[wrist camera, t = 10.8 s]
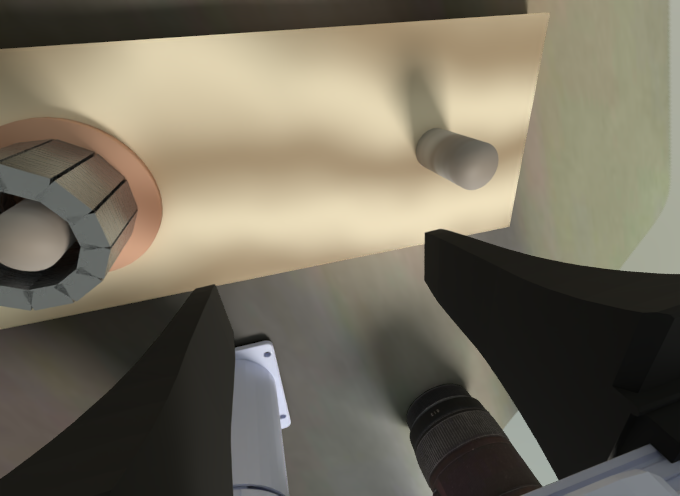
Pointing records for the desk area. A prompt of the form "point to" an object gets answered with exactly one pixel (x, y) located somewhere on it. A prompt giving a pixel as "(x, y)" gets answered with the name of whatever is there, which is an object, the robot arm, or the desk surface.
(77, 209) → the collar
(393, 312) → the desk surface
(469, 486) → the camera lens
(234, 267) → the stand board
